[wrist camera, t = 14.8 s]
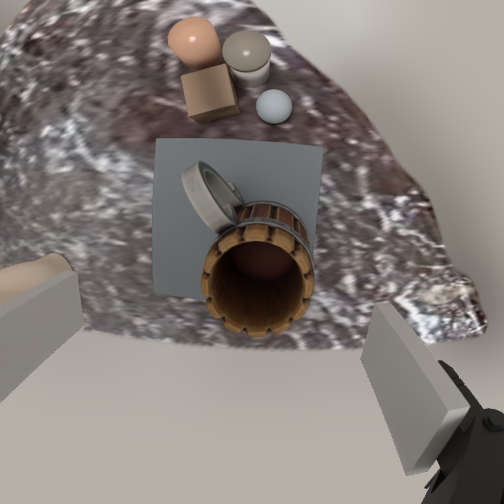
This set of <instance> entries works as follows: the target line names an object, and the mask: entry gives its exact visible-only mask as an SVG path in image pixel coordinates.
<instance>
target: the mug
mask: <svg viewBox="0 0 504 504" xmlns="http://www.w3.org/2000/svg"><path fill="white" fill-rule="evenodd" d="M182 183H183V186H184V189H185V192H186V194H187V196H188V198H189V200H190V202H191V203H192V205H193V207H194V208H195V210H196V212H197V213H198V215H199V216H200V217H201V219H202V220H203V221H204V223H205V224H206V225H207V226H208V227H209V228H210V229H211V230H212V231H213V232H214V233H216V234H218V236H217V237H216V239H215V240H214V242H213V243H212V244H211V246H210V248H209V250H208V252H207V254H206V257H205V260H204V263H203V272H202V276H201V285H200V286H201V290H202V295H203V296H205V297H207V300H206V305H207V307H208V309H209V311H210V313H211V314H212V315H213V317H215V318H216V319H222V323H223V325H224V326H225V327H226V328H227V329H229V330H231V331H233V332H235V333H240V332H242V331H244V330H245V332H246V333H247V335H249V336H251V337H264V336H267V335H268V333H269V332H270V331H271V332H273V333H275V334H278V333H281V332H283V331H285V330H287V329H288V328H289V327H291V326H292V320H299V319H300V318H301V317H302V316H303V315H304V313H305V312H306V310H307V308H308V306H309V299H310V297H311V296H312V295H313V290H314V282H315V271H314V262H313V257H312V255H311V252H310V240H309V234H308V232H307V229H306V227H305V224H304V222H303V221H302V220H301V219H300V217H299V216H298V215H297V213H295V212H294V211H293V210H291V209H290V208H289V207H287V206H285V205H283V204H281V203H278V202H276V201H268V200H259V201H252V202H249V203H246V204H245V202H244V200H243V198H242V196H241V194H240V193H239V191H238V190H237V188H236V187H235V185H234V184H233V183H232V182H230V183H228V184H227V183H226V182H225V180H224V179H223V178H222V177H221V176H220V175H219V174H218V172H217V171H216V170H215V169H214V168H212V167H211V166H210V165H209V164H207V163H205V162H204V161H198V162H197V163H195V164H194V165H192V166H191V167H189V168H188V169H186V170H185V171H183V173H182ZM214 195H215V196H216V197H217V198H218V199H219V201H220V202H221V203H222V204H223V205H224V206H223V207H222V206H221V205H220V203H219V202H218V200H217V199H216V197H215V196H214Z"/></svg>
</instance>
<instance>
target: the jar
mask: <svg viewBox="0 0 504 504" xmlns="http://www.w3.org/2000/svg"><path fill="white" fill-rule="evenodd" d="M222 53H223V57H224V59H225V61H226V63H227V64H228V66H229V67H230V68H231V70H232V72H233V75H234V77H235V79H236V81H237V82H238V83H239V84H241V85H243V86H246V87H257V86H260V85H262V84H263V83H265V82H266V81H267V79H268V78H269V75H270V61H269V59H270V56H271V47H270V43H269V41H268V39H267V38H266V37H265V36H264V35H262V34H261V33H259V32H256V31H252V30H244V31H239V32H236V33H234V34H232V35H231V36H230V37H228V39H227V40H226V41H225V43H224V45H223V49H222Z"/></svg>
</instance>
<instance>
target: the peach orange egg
mask: <svg viewBox="0 0 504 504" xmlns="http://www.w3.org/2000/svg"><path fill="white" fill-rule="evenodd" d="M168 44H169V46H170V48H171V49H172V50H173V51H174V52H175V53H176V55H177V56H178V57H179V58H180V59H181V60H182V62H183V63H184V64H185V65H186V66H187V67H188V68H189V70H190V71H192V72H196V71H199V70H203V69H206V68H210V67H214V66H218V65H221V64H222V63H223V61H224V57H223V53H222V49H223V47H222V45H221V43H220V41H219V38H218V36H217V34H216V32H215V30H214V27H213V25H212V24H211V22H210V21H208V20H207V19H205V18H202V17H189V18H186V19H183V20H181V21H180V22H178V23H177V24H176V25H175V26H174V27H173V28H172V29H171V31H170V33H169V36H168Z"/></svg>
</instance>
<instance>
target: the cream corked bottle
mask: <svg viewBox="0 0 504 504" xmlns="http://www.w3.org/2000/svg"><path fill="white" fill-rule="evenodd" d="M65 270H67V271H73V270H72V268H71V266H70V264H69V263H68V262H67V260H66V259H65V258H64V257H62V256H61V255H59V254H57V253H50V254H48V255H46V256H44V257H42V258H40V259H38V260H36V261H30V262H24V263H20V264H16V265H12V266H9V267H6V268H3V269H0V306H2V305H4V304H5V303H7V302H9V301H11V300H12V299H14V298H16V297H17V296H19V295H21V294H23V293H24V292H26V291H28V290H30V289H32V288H33V287H35V286H37V285H39V284H41V283H42V282H44V281H46V280H48V279H50V278H52V277H54V276H55V275H57V274H59V273H61V272H63V271H65Z"/></svg>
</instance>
